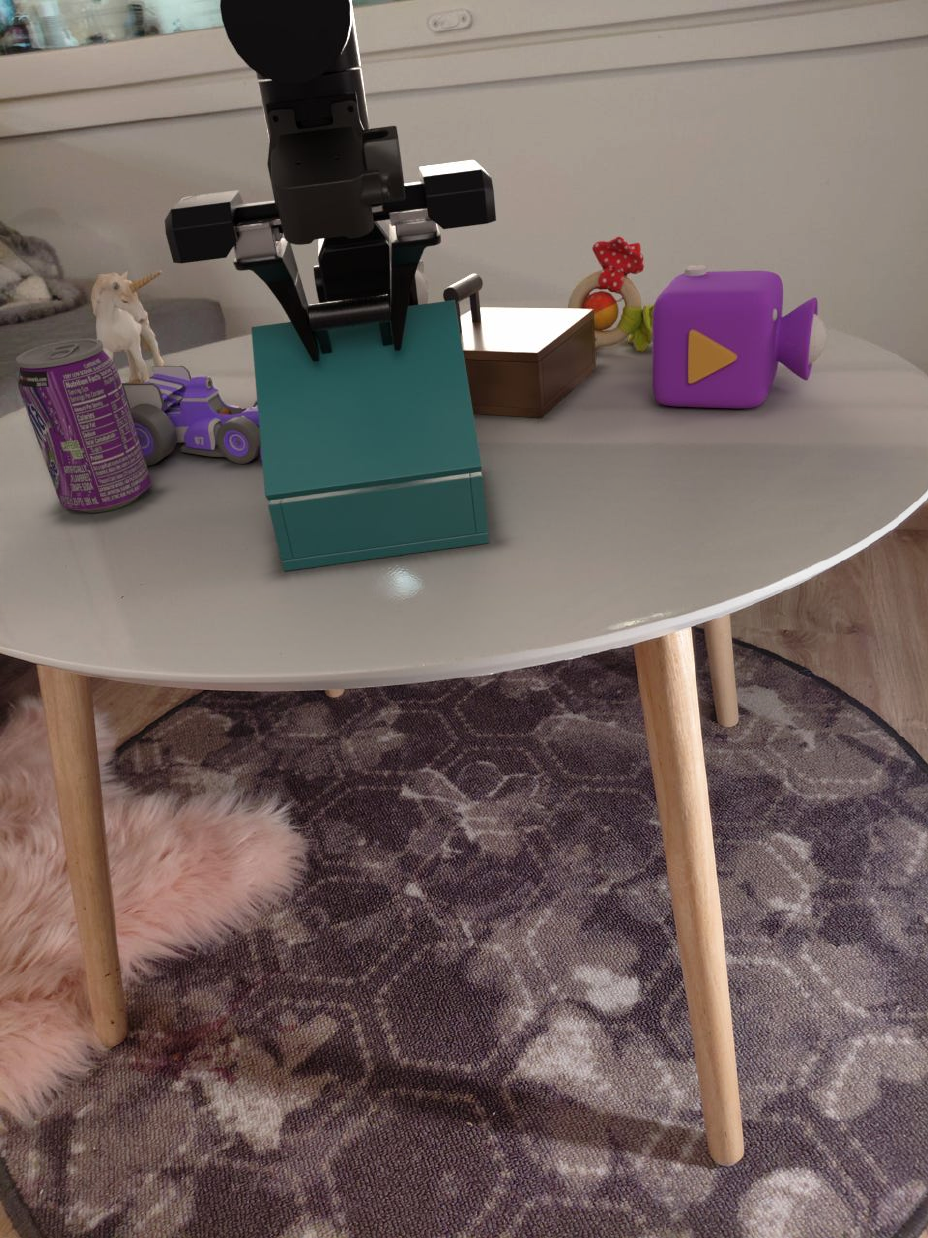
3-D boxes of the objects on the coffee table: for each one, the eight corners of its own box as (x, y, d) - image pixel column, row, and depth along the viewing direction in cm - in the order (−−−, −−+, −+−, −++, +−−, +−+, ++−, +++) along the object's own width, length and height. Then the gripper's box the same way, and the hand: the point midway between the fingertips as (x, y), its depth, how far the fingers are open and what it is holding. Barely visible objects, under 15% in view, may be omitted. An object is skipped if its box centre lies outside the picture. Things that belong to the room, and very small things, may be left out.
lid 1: (253, 333, 63) (234, 285, 58) (455, 306, 63) (452, 256, 58) (267, 501, 59) (248, 464, 54) (481, 471, 59) (481, 432, 55)
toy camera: (827, 413, 74) (840, 283, 69) (651, 419, 77) (651, 294, 72) (812, 370, 83) (823, 252, 78) (655, 377, 86) (655, 263, 81)
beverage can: (76, 487, 78) (26, 343, 72) (161, 476, 78) (118, 331, 72) (51, 524, 72) (-6, 370, 66) (143, 512, 72) (95, 357, 66)
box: (424, 410, 85) (417, 358, 83) (487, 363, 95) (483, 316, 93) (541, 418, 80) (538, 362, 78) (596, 368, 90) (594, 317, 88)
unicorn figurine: (126, 429, 90) (81, 285, 83) (98, 382, 105) (59, 257, 98) (199, 411, 92) (162, 270, 85) (162, 368, 108) (128, 245, 101)
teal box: (294, 499, 71) (281, 439, 69) (472, 475, 72) (465, 415, 69) (283, 571, 61) (267, 505, 59) (489, 543, 62) (482, 475, 59)
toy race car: (274, 470, 77) (256, 392, 73) (122, 465, 82) (98, 393, 78) (323, 427, 84) (309, 355, 81) (181, 425, 89) (162, 357, 86)
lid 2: (409, 357, 83) (401, 299, 81) (475, 315, 93) (470, 262, 91) (538, 362, 78) (534, 300, 75) (594, 317, 88) (592, 261, 85)
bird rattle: (595, 381, 94) (680, 337, 91) (543, 279, 89) (631, 230, 86) (594, 362, 99) (674, 321, 96) (545, 265, 94) (628, 218, 91)
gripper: (106, 106, 45) (192, 419, 53) (495, 57, 45) (519, 375, 53) (150, 92, 54) (217, 359, 62) (472, 51, 54) (495, 322, 63)
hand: (356, 354), depth 60 cm, fingers closed on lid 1, 5 cm apart
